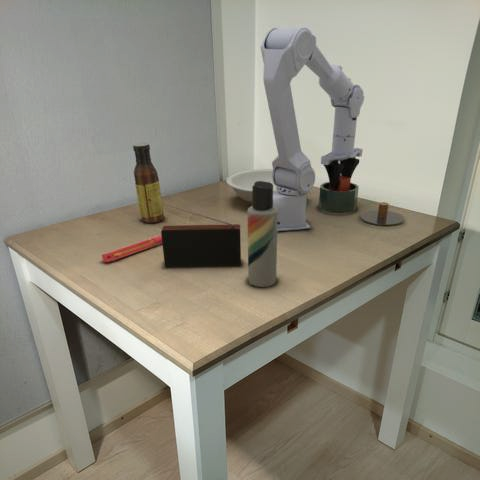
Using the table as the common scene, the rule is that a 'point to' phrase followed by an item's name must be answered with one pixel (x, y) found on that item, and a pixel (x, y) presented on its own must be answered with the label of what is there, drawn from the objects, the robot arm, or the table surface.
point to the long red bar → (132, 248)
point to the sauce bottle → (147, 185)
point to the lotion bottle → (262, 236)
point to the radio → (201, 244)
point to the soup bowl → (249, 181)
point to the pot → (338, 199)
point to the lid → (382, 216)
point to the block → (343, 184)
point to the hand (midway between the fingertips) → (339, 187)
